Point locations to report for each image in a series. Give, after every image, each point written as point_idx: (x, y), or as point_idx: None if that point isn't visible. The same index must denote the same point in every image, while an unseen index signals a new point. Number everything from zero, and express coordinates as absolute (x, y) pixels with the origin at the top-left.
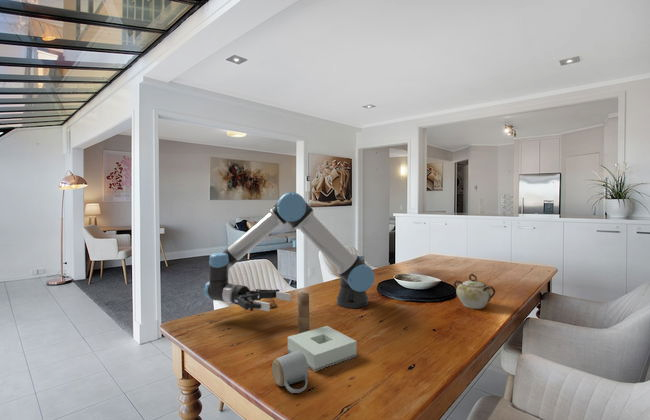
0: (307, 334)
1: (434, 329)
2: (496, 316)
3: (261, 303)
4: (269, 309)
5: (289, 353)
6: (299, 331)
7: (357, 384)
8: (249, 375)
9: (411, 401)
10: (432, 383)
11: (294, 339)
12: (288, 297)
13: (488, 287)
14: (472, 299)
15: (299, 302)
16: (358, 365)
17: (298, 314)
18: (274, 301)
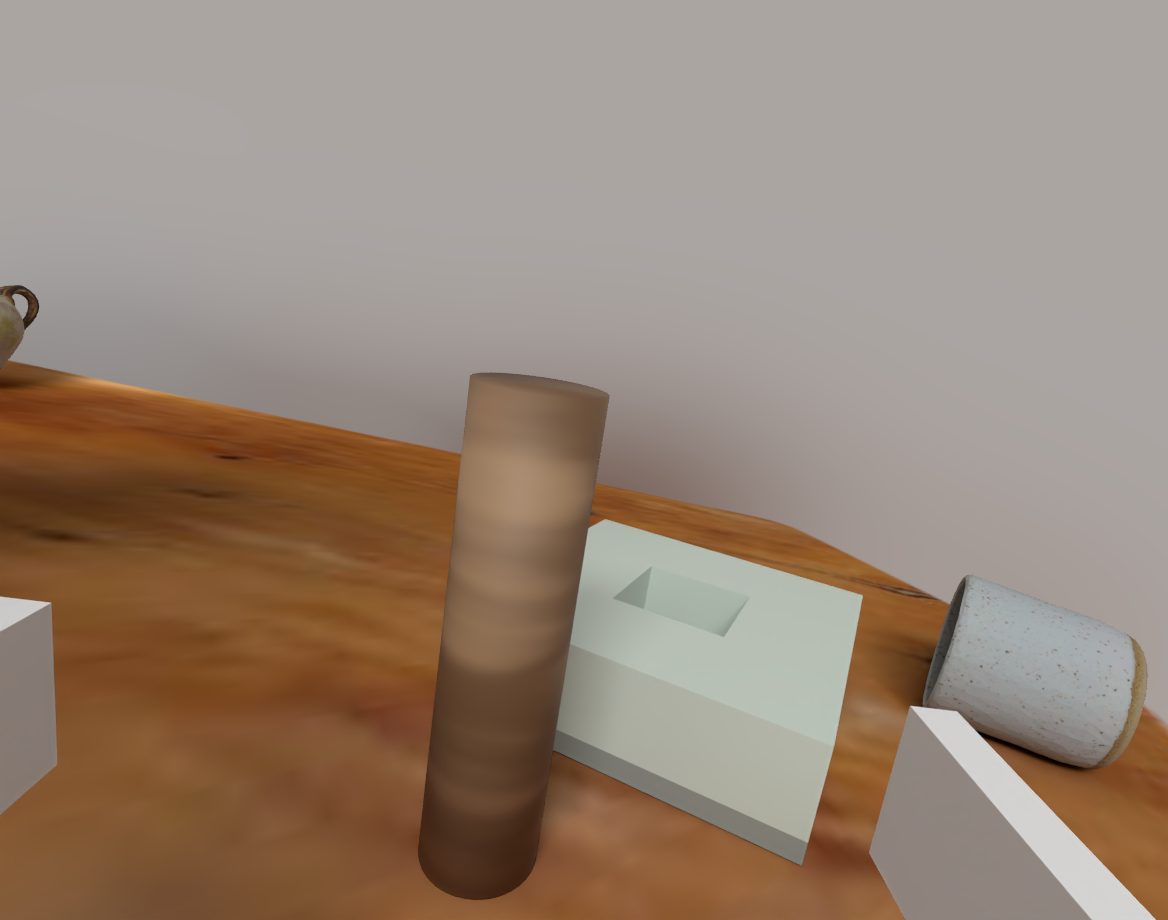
0: (682, 655)
1: (226, 456)
2: (97, 386)
3: (1110, 908)
4: (888, 827)
5: (1032, 615)
6: (544, 793)
7: None
8: None
9: (742, 521)
10: (634, 497)
11: (820, 696)
12: (16, 714)
13: (16, 290)
14: (2, 345)
15: (593, 483)
16: None
17: (561, 633)
18: None
